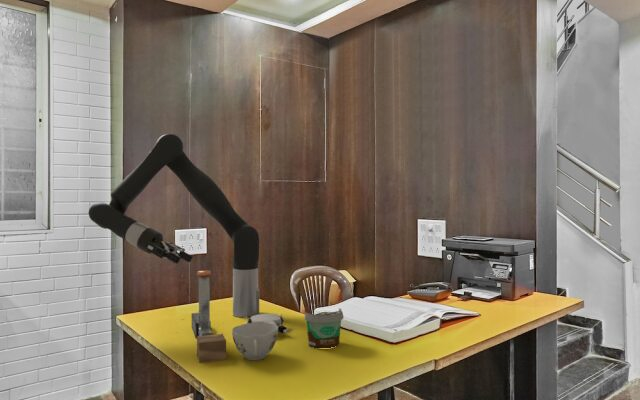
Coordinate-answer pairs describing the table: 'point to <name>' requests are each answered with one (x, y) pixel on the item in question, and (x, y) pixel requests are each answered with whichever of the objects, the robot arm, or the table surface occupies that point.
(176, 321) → the table surface
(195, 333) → the sleeve
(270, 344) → the teacup
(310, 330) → the food container
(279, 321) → the robot toy
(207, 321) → the tube
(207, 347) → the socket
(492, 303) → the table surface
